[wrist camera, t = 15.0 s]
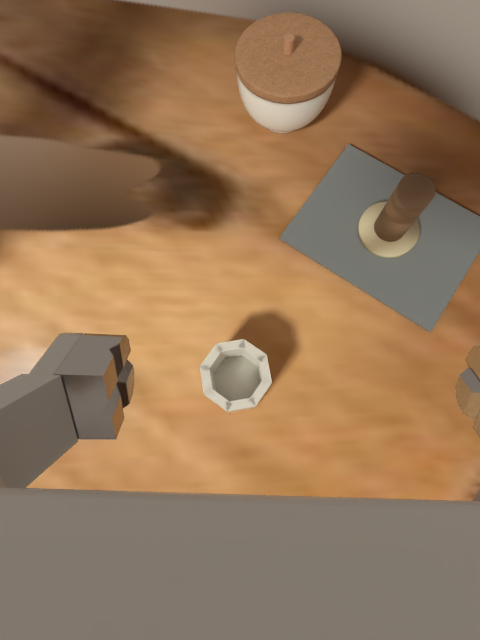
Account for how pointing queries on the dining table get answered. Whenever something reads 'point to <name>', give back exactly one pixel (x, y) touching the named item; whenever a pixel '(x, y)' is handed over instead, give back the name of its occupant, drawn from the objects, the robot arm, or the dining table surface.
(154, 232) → the dining table surface
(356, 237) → the mat
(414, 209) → the brown peg on disc
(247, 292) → the dining table surface
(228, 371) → the white octagonal base
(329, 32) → the lidded jar
